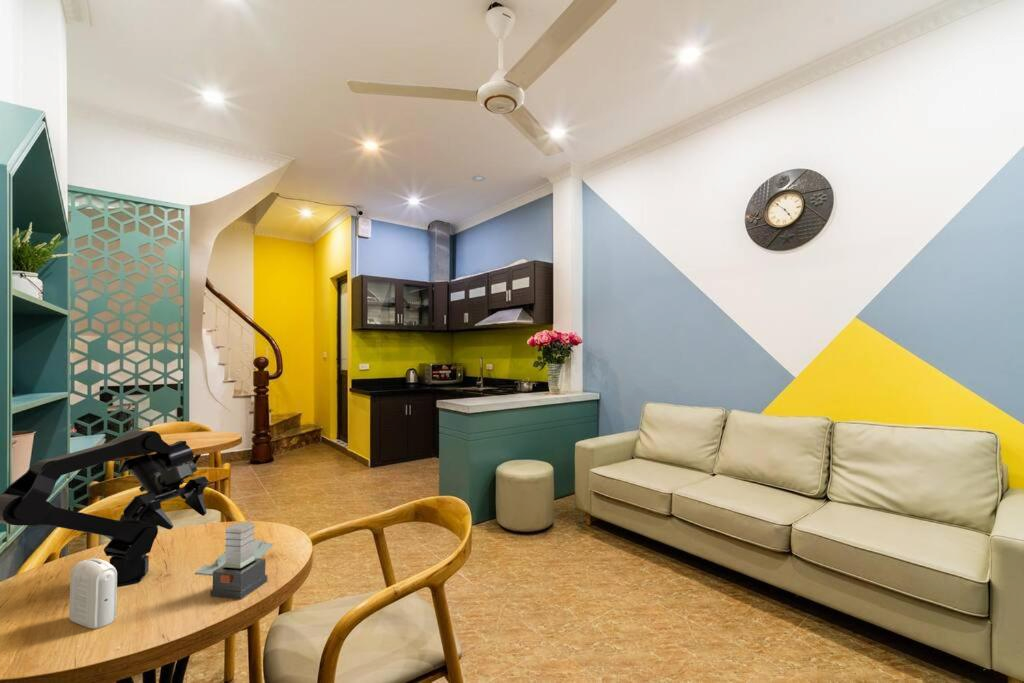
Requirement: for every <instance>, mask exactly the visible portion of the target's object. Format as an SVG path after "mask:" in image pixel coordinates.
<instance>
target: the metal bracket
mask: <svg viewBox="0 0 1024 683" xmlns="http://www.w3.org/2000/svg"><path fill="white" fill-rule="evenodd" d="M274 545H275V544H274V543H273V542H272V543H270V542H267V541H266V540H261V542H260V538H259V537H257V538H255V539H254V556H255V558H260V559H262V557H263V556H265V555H264V554H266V553H268V551H269V550H270V549H271V548H272V547H273V546H274ZM225 562H226V550H225V551H224V552H223V553H222V554H221V555H220V556H218V557H217V558H216V559H215V562H214V563H213V564H211V565H209V564H204V565H203V566H202V567H201V568H200V569H198V570H197V571H196V572H195V575H197V576H213V571H215V570H216V569H218V568H220V567H222V566H223V565H224V564H225Z"/></svg>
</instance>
